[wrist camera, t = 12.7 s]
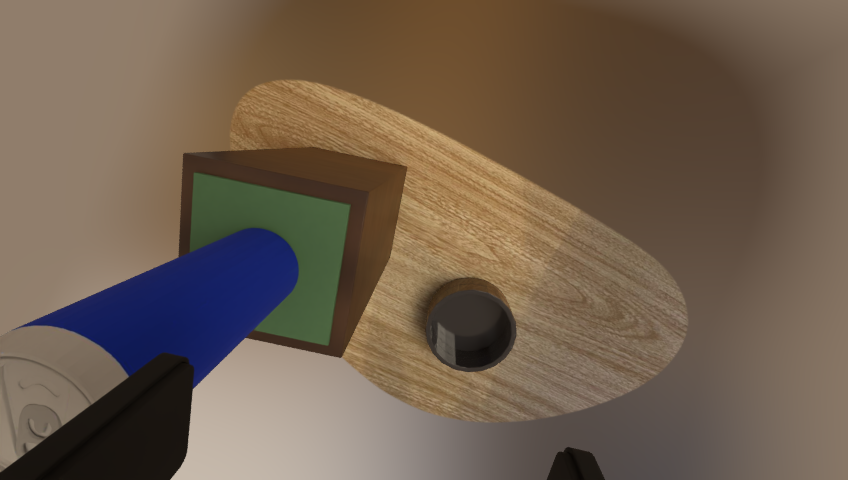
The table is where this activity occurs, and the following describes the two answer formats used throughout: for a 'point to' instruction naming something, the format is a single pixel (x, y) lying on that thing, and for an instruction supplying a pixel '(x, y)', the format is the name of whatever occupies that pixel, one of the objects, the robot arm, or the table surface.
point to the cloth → (299, 226)
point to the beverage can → (138, 332)
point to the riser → (329, 179)
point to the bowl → (470, 325)
